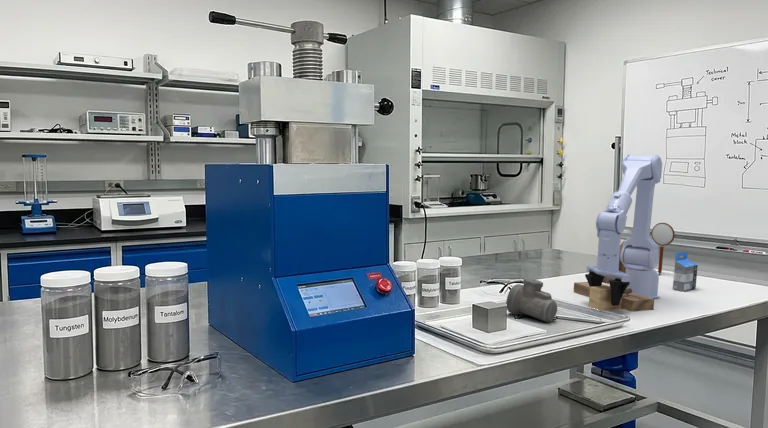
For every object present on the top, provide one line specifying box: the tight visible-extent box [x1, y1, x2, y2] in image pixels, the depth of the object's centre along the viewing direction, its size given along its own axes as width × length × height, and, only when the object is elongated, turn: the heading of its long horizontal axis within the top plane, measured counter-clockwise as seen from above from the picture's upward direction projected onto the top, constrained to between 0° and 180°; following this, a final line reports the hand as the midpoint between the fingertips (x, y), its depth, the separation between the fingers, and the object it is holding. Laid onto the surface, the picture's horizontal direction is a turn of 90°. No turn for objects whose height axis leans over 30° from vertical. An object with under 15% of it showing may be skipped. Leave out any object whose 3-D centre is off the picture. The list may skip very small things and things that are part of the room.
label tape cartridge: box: [672, 251, 698, 292], centre depth 187 cm, size 9×4×12 cm, turn 128°
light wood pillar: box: [588, 285, 632, 311], centre depth 160 cm, size 13×4×6 cm, turn 111°
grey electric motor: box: [505, 277, 558, 323], centre depth 146 cm, size 12×8×10 cm
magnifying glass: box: [650, 222, 676, 275], centre depth 211 cm, size 9×2×20 cm, turn 35°
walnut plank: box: [573, 281, 655, 312], centre depth 169 cm, size 8×24×3 cm, turn 21°
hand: (605, 301), depth 159 cm, fingers open, 7 cm apart
